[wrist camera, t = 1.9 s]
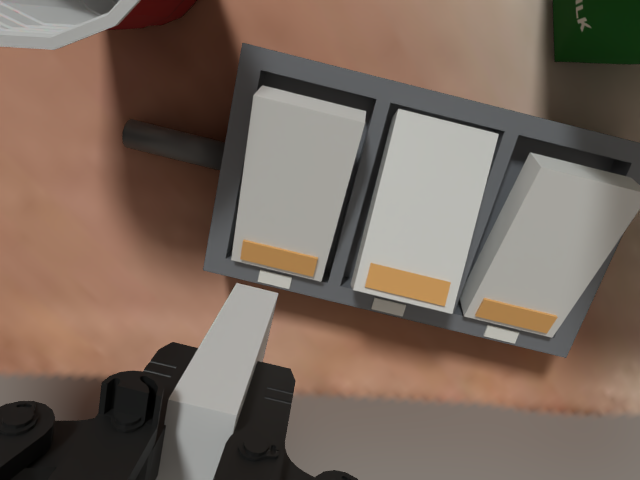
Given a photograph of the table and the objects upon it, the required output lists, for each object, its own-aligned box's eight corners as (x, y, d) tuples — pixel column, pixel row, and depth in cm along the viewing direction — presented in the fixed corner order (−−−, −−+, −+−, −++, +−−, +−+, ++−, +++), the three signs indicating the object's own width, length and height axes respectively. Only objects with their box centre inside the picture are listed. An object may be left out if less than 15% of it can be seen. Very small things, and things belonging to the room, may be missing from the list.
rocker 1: (239, 242, 26) (230, 261, 25) (262, 85, 22) (252, 96, 20) (324, 263, 26) (321, 283, 25) (366, 111, 22) (364, 124, 20)
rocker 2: (350, 284, 24) (353, 290, 22) (392, 116, 24) (398, 107, 22) (442, 307, 24) (453, 314, 22) (485, 140, 24) (500, 133, 22)
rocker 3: (459, 295, 27) (464, 318, 25) (530, 152, 22) (542, 168, 20) (542, 315, 27) (553, 339, 25) (631, 177, 22) (651, 195, 20)
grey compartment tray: (125, 227, 29) (96, 245, 25) (149, 23, 25) (118, 11, 22) (540, 328, 29) (566, 358, 26) (621, 142, 26) (663, 148, 22)
